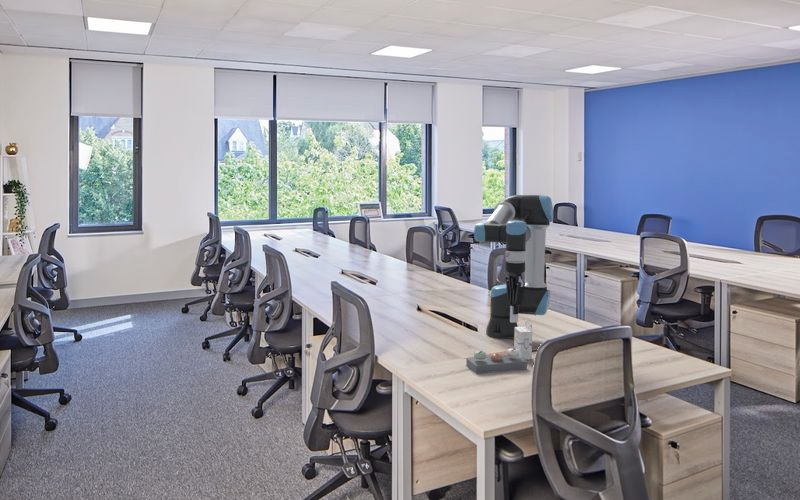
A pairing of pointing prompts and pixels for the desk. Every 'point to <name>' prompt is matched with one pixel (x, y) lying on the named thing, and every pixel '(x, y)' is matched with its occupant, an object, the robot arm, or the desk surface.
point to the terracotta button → (496, 357)
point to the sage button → (479, 355)
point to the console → (496, 364)
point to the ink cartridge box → (524, 341)
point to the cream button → (513, 352)
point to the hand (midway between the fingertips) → (513, 321)
